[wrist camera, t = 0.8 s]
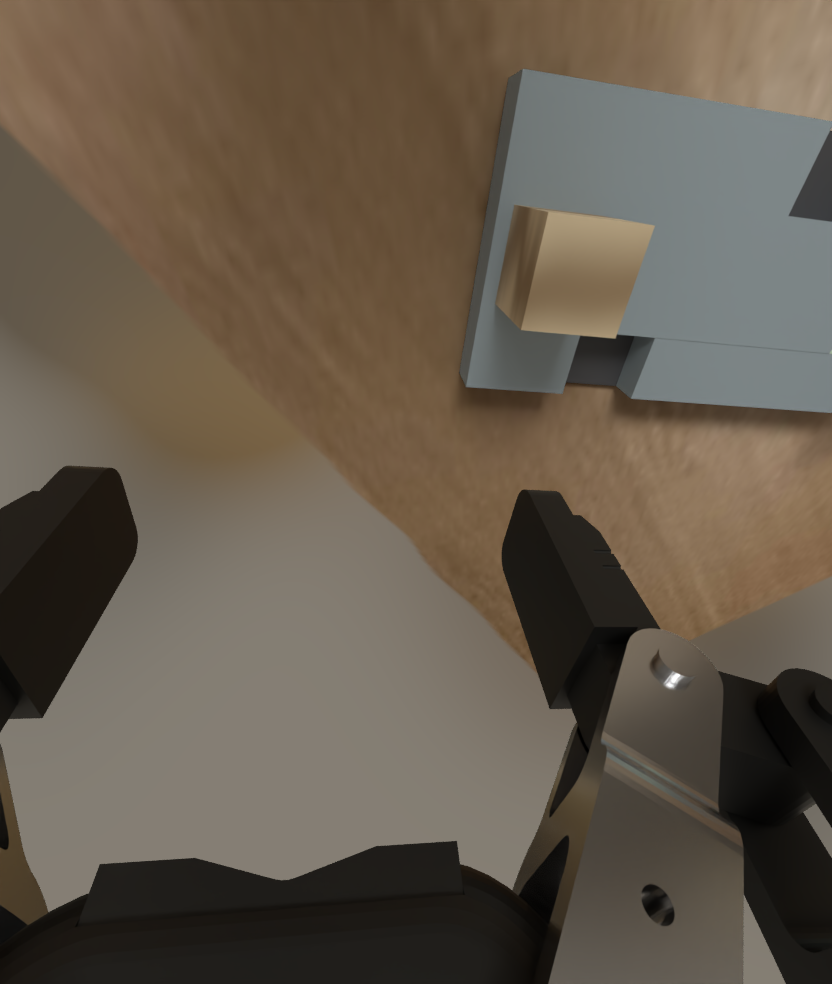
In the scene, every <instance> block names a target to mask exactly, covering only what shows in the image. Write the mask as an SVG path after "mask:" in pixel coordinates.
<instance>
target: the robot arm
mask: <svg viewBox="0 0 832 984" xmlns="http://www.w3.org/2000/svg"><path fill="white" fill-rule="evenodd" d="M137 543H138V535H137V529H136V525H135V522H134V519H133V515H132V512H131V509H130V506H129V502H128V499H127V496H126V492H125V489H124V486H123V483H122V479H121V476H120V475H119V473H118V472H117V470H115V469H113V468H103V467H83V466H65V467H63V468H62V469H61V470H59V471H58V472H57V474H55V476H54V477H53V478H52V479H51V480H50V481H49V482H48V483H47V484H46V485H45V486H44V487H43V488H42V489H41V490H40V491H32V492H30V493H28V494H26V495H25V496H23V497H21V498H19V499H17V500H15V501H13V502H12V503H10V504H8V505H7V506H4V507H3V508H1V509H0V732H1V730H2V728H3V727H4V725H5V724H6V722H7V721H8V719H21V718H22V719H23V718H43V716H44V714H45V713H46V711H47V709H48V707H49V706H50V704H51V702H52V700H53V698H54V697H55V695H56V693H57V692H58V690H59V688H60V687H61V685H62V683H63V681H64V680H65V678H66V676H67V674H68V673H69V671H70V669H71V668H72V666H73V664H74V662H75V661H76V659H77V657H78V655H79V654H80V652H81V650H82V648H83V647H84V645H85V643H86V641H87V640H88V638H89V636H90V635H91V633H92V631H93V629H94V628H95V626H96V624H97V622H98V621H99V619H100V617H101V616H102V614H103V612H104V610H105V609H106V607H107V605H108V603H109V601H110V600H111V598H112V596H113V595H114V593H115V591H116V589H117V588H118V586H119V584H120V583H121V581H122V579H123V577H124V575H125V574H126V572H127V570H128V569H129V567H130V565H131V563H132V562H133V560H134V557H135V554H136V549H137ZM502 566H503V571H504V574H505V577H506V580H507V583H508V586H509V589H510V592H511V595H512V598H513V601H514V604H515V607H516V610H517V613H518V616H519V619H520V622H521V625H522V628H523V631H524V634H525V637H526V640H527V643H528V646H529V649H530V651H531V654H532V657H533V660H534V663H535V666H536V669H537V672H538V675H539V678H540V681H541V684H542V687H543V690H544V693H545V696H546V699H547V702H548V705H549V708H550V709H564V708H565V709H566V708H567V709H570V708H572V710H573V713H574V716H575V718H576V721H577V723H576V724H575V726H574V728H573V730H572V732H571V735H570V738H569V741H568V744H567V747H566V750H565V752H564V755H563V758H562V761H561V764H560V767H559V770H558V773H557V776H556V779H555V782H554V785H553V788H552V791H551V794H550V797H549V800H548V802H547V805H546V808H545V812H544V814H543V817H542V820H541V823H540V825H539V828H538V830H537V832H536V835H535V837H534V839H533V841H532V843H531V845H530V847H529V849H528V851H527V853H526V856H525V858H524V860H523V863H522V865H521V868H520V870H519V873H518V875H517V878H516V881H515V884H514V887H513V890H511V889H509V888H508V887H507V886H505V885H504V884H502V883H500V882H499V881H497V880H495V879H494V878H492V877H491V876H489V875H487V874H485V873H482V872H480V871H478V870H475V869H473V868H471V867H468V866H464V865H461V864H460V862H459V855H458V847H457V841H451V842H436V843H420V844H404V845H390V846H376V847H373V848H371V849H368V850H365V851H363V852H360V853H358V854H355V855H353V856H350V857H348V858H345V859H343V860H340V861H337V862H335V863H332V864H330V865H327V866H325V867H322V868H319V869H317V870H314V871H312V872H309V873H307V874H304V875H302V876H299V877H296V878H293V879H290V880H282V881H281V880H275V879H271V878H267V877H263V876H260V875H256V874H252V873H249V872H245V871H241V870H238V869H234V868H230V867H226V866H223V865H218V864H215V863H212V862H208V861H204V860H200V859H196V858H189V859H173V860H158V861H142V862H127V863H111V864H100V865H99V868H98V871H97V873H96V876H95V879H94V882H93V884H92V887H91V890H90V892H89V894H86V895H83V896H81V897H79V898H77V899H75V900H73V901H71V902H68V903H66V904H64V905H62V906H60V907H58V908H56V909H54V910H52V911H50V912H48V909H47V906H46V903H45V900H44V897H43V894H42V892H41V889H40V887H39V885H38V883H37V881H36V879H35V877H34V875H33V873H32V872H31V870H30V868H29V865H28V863H27V860H26V857H25V854H24V851H23V847H22V842H21V837H20V832H19V827H18V823H17V818H16V813H15V808H14V803H13V799H12V794H11V789H10V784H9V780H8V775H7V770H6V765H5V760H4V755H3V751H2V747H1V745H0V984H743V910H744V909H743V908H744V907H743V904H744V903H743V901H744V895H745V898H746V900H747V902H748V904H749V906H750V908H751V910H752V912H753V914H754V917H755V919H756V921H757V923H758V925H759V927H760V929H761V932H762V934H763V936H764V938H765V940H766V942H767V944H768V946H769V949H770V950H771V953H772V955H773V957H774V959H775V961H776V963H777V966H778V967H779V970H780V972H781V974H782V976H783V978H784V980H785V982H786V984H832V858H831V856H830V855H829V853H828V851H827V850H826V848H825V847H824V845H823V843H822V842H821V840H820V839H819V837H818V836H817V834H816V832H815V831H814V829H813V827H812V826H811V824H810V823H809V821H808V819H807V818H806V816H805V815H804V813H803V812H804V811H805V810H807V809H808V808H810V807H811V806H813V805H814V804H817V806H818V807H819V809H820V810H821V812H822V813H823V815H824V816H825V818H826V820H827V821H828V822H829V824H830V825H831V827H832V680H831V679H829V678H827V677H825V676H823V675H821V674H818V673H815V672H812V671H809V670H805V669H798V668H795V669H788V670H785V671H783V672H781V673H780V674H779V675H778V676H777V677H776V678H775V679H774V680H773V681H772V683H770V684H769V685H765V684H762V683H758V682H755V681H751V680H748V679H744V678H740V677H737V676H733V675H730V674H726V673H723V672H720V671H718V670H717V669H716V667H715V666H714V665H713V663H712V662H711V661H710V659H709V658H708V657H707V656H706V655H705V654H704V653H703V652H702V651H701V650H699V649H698V648H697V647H696V646H695V645H693V644H692V643H690V642H689V641H687V640H686V639H684V638H682V637H680V636H678V635H676V634H674V633H671V632H668V631H665V630H661V629H660V627H659V626H658V624H657V623H656V621H655V619H654V618H653V616H652V615H651V613H650V611H649V610H648V608H647V607H646V605H645V604H644V602H643V600H642V599H641V597H640V596H639V594H638V592H637V591H636V589H635V588H634V586H633V584H632V583H631V581H630V580H629V578H628V576H627V575H626V573H625V572H624V570H621V568H620V567H621V565H620V564H619V562H618V560H617V559H616V557H615V556H614V554H611V549H610V548H609V546H608V545H607V543H606V541H605V540H604V538H603V537H602V535H601V533H600V532H599V531H598V530H597V529H596V528H595V527H593V526H592V525H591V524H590V523H589V522H588V521H586V520H585V519H584V518H583V517H582V516H580V515H573V514H572V512H571V511H570V509H569V507H568V506H567V504H566V502H565V500H564V499H563V497H562V495H561V494H560V493H559V492H557V491H540V490H522V491H521V492H520V493H519V495H518V497H517V500H516V503H515V507H514V510H513V513H512V516H511V519H510V523H509V526H508V529H507V532H506V535H505V539H504V542H503V546H502Z"/></svg>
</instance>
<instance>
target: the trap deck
mask: <svg viewBox="0 0 832 984" xmlns="http://www.w3.org/2000/svg"><path fill="white" fill-rule="evenodd" d="M831 127H832V121H826V120H821V119H815V118H809V117H803V116H797V115H791V114H785V113H780V112H774V111H768V110H762V109H756V108H750V107H744V106H739V105H733V104H727V103H721V102H715V101H709V100H703V99H697V98H692V97H686V96H680V95H674V94H668V93H662V92H656V91H651V90H645V89H639V88H633V87H627V86H621V85H615V84H610V83H604V82H598V81H592V80H586V79H580V78H574V77H569V76H563V75H557V74H551V73H545V72H539V71H533V70H527V69H522V70H520V71H519V72H517V73H516V74H514V75H513V76H511V77H510V78H508V84H507V90H506V96H505V102H504V108H503V114H502V120H501V126H500V132H499V138H498V144H497V150H496V156H495V162H494V168H493V174H492V180H491V186H490V192H489V198H488V204H487V210H486V216H485V222H484V228H483V234H482V240H481V246H480V252H479V258H478V264H477V270H476V276H475V282H474V288H473V294H472V300H471V306H470V312H469V318H468V324H467V330H466V336H465V342H464V348H463V353H462V359H461V365H460V371H459V373H460V375H461V377H462V379H463V382H464V384H465V386H466V387H473V388H487V389H501V390H515V391H529V392H543V393H557V394H562V393H563V390H564V387H565V383H566V382H569V383H583V384H596V385H610V386H617V387H618V388H619V389H620V390H621V391H622V392H624V393H625V394H626V395H627V396H628V397H630V398H631V399H642V400H656V401H670V402H684V403H698V404H713V405H727V406H741V407H755V408H769V409H783V410H797V411H811V412H825V413H832V131H830V129H831ZM514 205H522V206H530V207H537V208H545V209H553V210H561V211H569V212H576V213H584V214H592V215H600V216H606V217H611V218H617V219H622V220H628V221H633V222H638V223H644V224H649V225H654V226H655V227H654V230H653V233H652V236H651V239H650V241H649V244H648V247H647V250H646V253H645V256H644V258H643V261H642V264H641V267H640V270H639V273H638V276H637V278H636V281H635V284H634V287H633V290H632V293H631V296H630V298H629V301H628V304H627V307H626V310H625V313H624V315H623V318H622V321H621V324H620V327H619V330H618V333H617V335H616V338H615V339H614V338H603V337H592V336H581V335H570V334H558V333H547V332H536V331H525V330H520V329H519V328H518V327H517V326H516V325H515V324H514V323H513V322H512V320H511V319H510V318H509V317H508V316H507V315H506V314H505V313H504V312H503V311H502V310H501V309H500V308H499V307H498V306H497V305H496V304H495V301H496V296H497V291H498V286H499V281H500V275H501V270H502V265H503V260H504V255H505V250H506V245H507V240H508V234H509V229H510V224H511V219H512V214H513V209H514Z"/></svg>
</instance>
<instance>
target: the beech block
mask: <svg viewBox="0 0 832 984" xmlns="http://www.w3.org/2000/svg"><path fill="white" fill-rule="evenodd" d="M654 227H655V226H654V225H649V224H644V223H638V222H633V221H628V220H622V219H617V218H611V217H606V216H600V215H592V214H584V213H576V212H569V211H561V210H553V209H545V208H537V207H530V206H522V205H514V209H513V214H512V219H511V224H510V229H509V234H508V240H507V245H506V250H505V255H504V260H503V265H502V270H501V275H500V281H499V286H498V291H497V296H496V301H495V304H496V305H497V306H498V307H499V308H500V309H501V310H502V311H503V312H504V313H505V314H506V315H507V316H508V317H509V318H510V319H511V320H512V322H513V323H514V324H515V325H516V326H517V327H518V328H519V329H520V330H525V331H536V332H547V333H558V334H570V335H581V336H592V337H603V338H614V339H615V338H616V335H617V333H618V330H619V327H620V324H621V321H622V318H623V315H624V313H625V310H626V307H627V304H628V301H629V298H630V296H631V293H632V290H633V287H634V284H635V281H636V278H637V276H638V273H639V270H640V267H641V264H642V261H643V258H644V256H645V253H646V250H647V247H648V244H649V241H650V239H651V236H652V233H653V230H654Z"/></svg>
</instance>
